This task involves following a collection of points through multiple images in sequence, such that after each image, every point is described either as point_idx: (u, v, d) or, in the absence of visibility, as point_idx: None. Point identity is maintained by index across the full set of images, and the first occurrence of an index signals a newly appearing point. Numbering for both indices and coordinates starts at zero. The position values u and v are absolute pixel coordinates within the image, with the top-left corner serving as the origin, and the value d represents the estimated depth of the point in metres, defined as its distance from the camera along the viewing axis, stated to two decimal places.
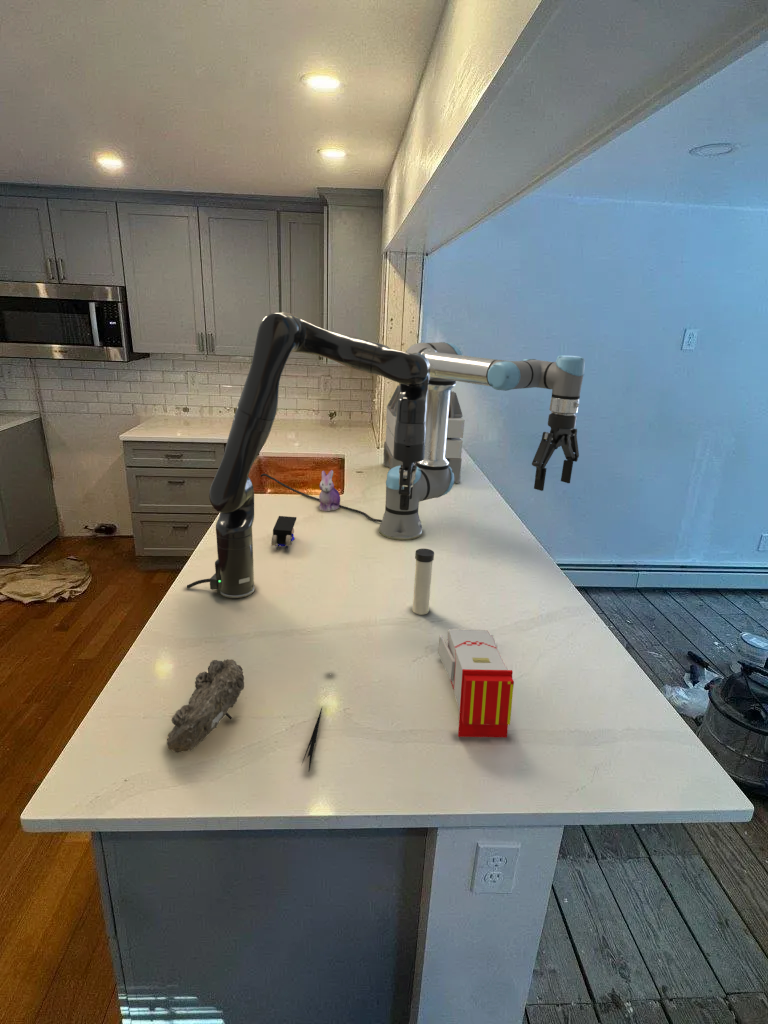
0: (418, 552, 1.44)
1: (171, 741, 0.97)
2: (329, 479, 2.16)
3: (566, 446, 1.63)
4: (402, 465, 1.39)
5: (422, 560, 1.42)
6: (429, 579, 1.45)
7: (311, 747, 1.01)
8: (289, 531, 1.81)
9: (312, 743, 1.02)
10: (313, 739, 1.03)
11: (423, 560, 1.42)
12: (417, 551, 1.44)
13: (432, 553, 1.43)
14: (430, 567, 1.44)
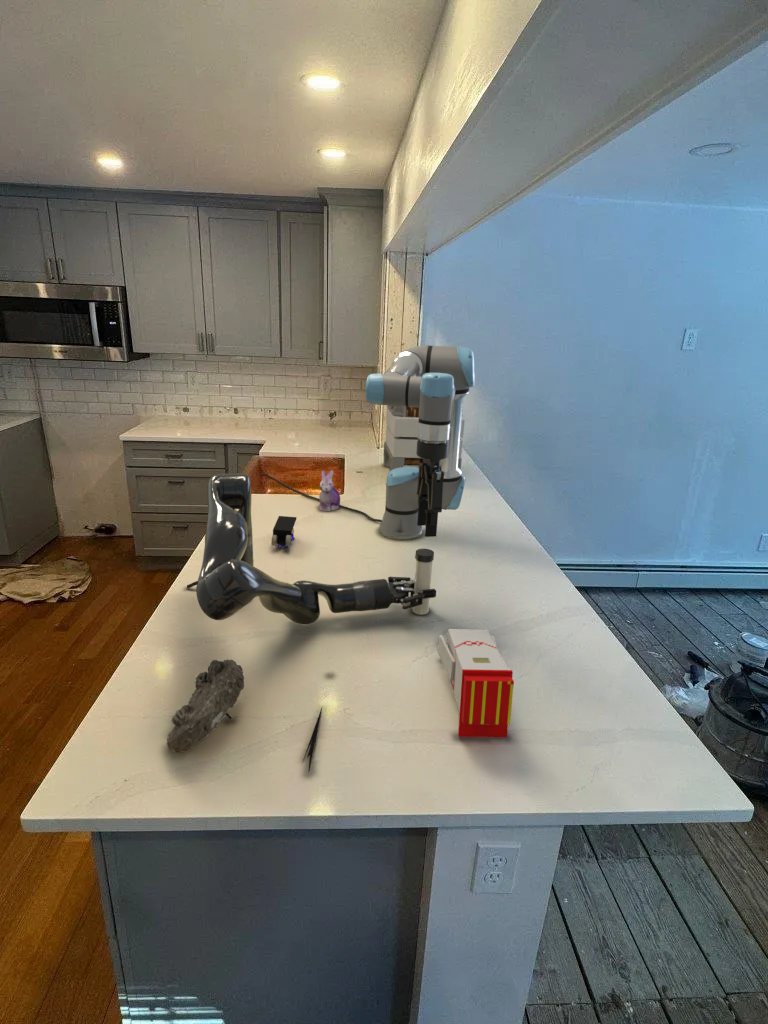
0: (418, 552, 1.44)
1: (171, 741, 0.97)
2: (329, 479, 2.16)
3: (430, 479, 1.40)
4: None
5: (422, 560, 1.42)
6: (429, 579, 1.45)
7: (311, 747, 1.01)
8: (289, 531, 1.81)
9: (312, 743, 1.02)
10: (313, 739, 1.03)
11: (423, 560, 1.42)
12: (417, 551, 1.44)
13: (432, 553, 1.43)
14: (430, 567, 1.44)
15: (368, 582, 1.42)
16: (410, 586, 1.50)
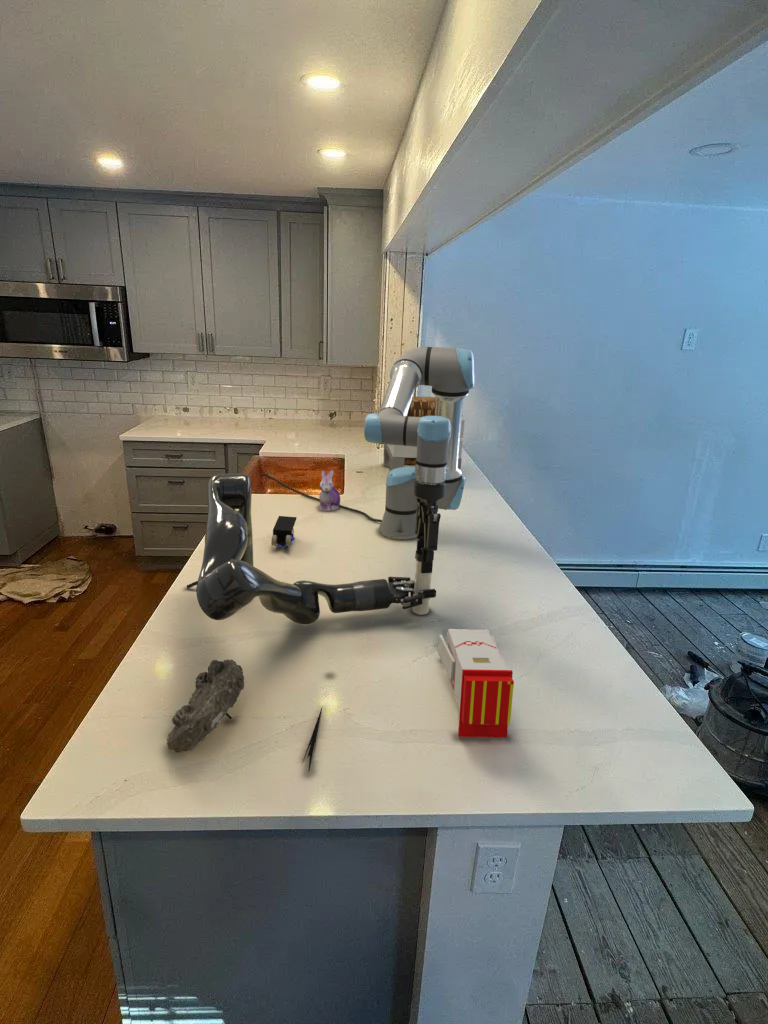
0: (418, 552, 1.44)
1: (171, 741, 0.97)
2: (329, 479, 2.16)
3: (427, 518, 1.43)
4: None
5: None
6: (429, 579, 1.45)
7: (311, 747, 1.01)
8: (289, 531, 1.81)
9: (312, 743, 1.02)
10: (313, 739, 1.03)
11: None
12: (417, 551, 1.44)
13: None
14: None
15: (368, 582, 1.42)
16: (410, 586, 1.50)
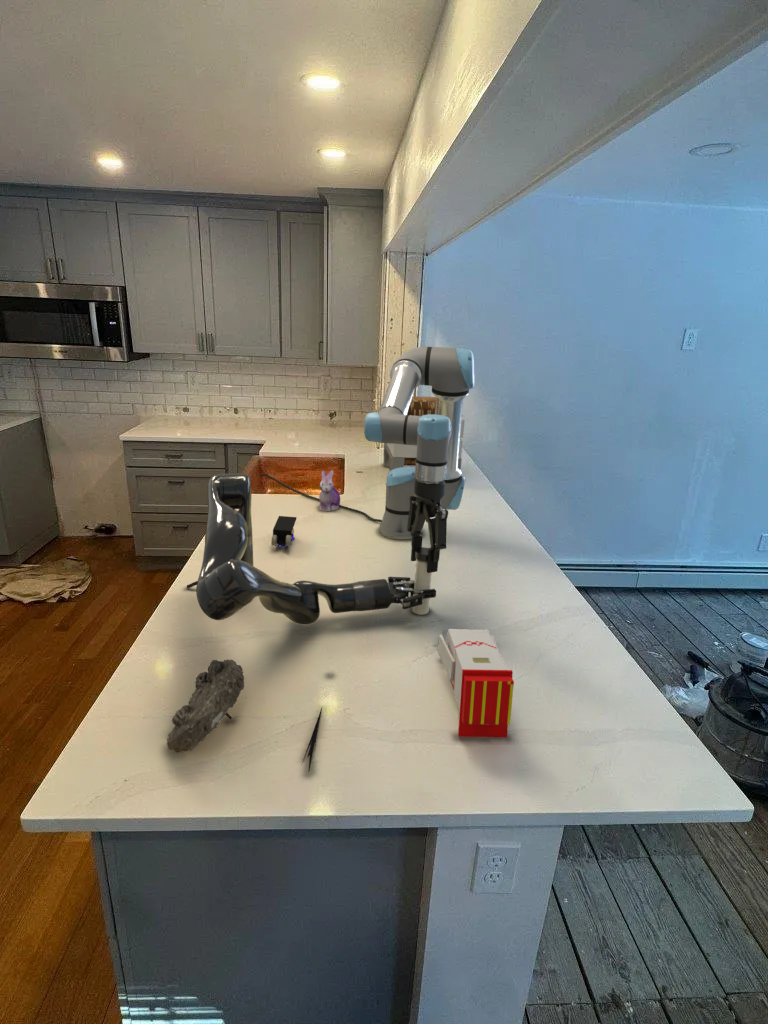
0: (427, 553, 1.42)
1: (171, 741, 0.97)
2: (329, 479, 2.16)
3: (424, 516, 1.43)
4: None
5: None
6: (429, 579, 1.45)
7: (311, 747, 1.01)
8: (289, 531, 1.81)
9: (312, 743, 1.02)
10: (313, 739, 1.03)
11: None
12: (425, 554, 1.42)
13: (425, 548, 1.46)
14: None
15: (368, 582, 1.42)
16: (410, 586, 1.50)
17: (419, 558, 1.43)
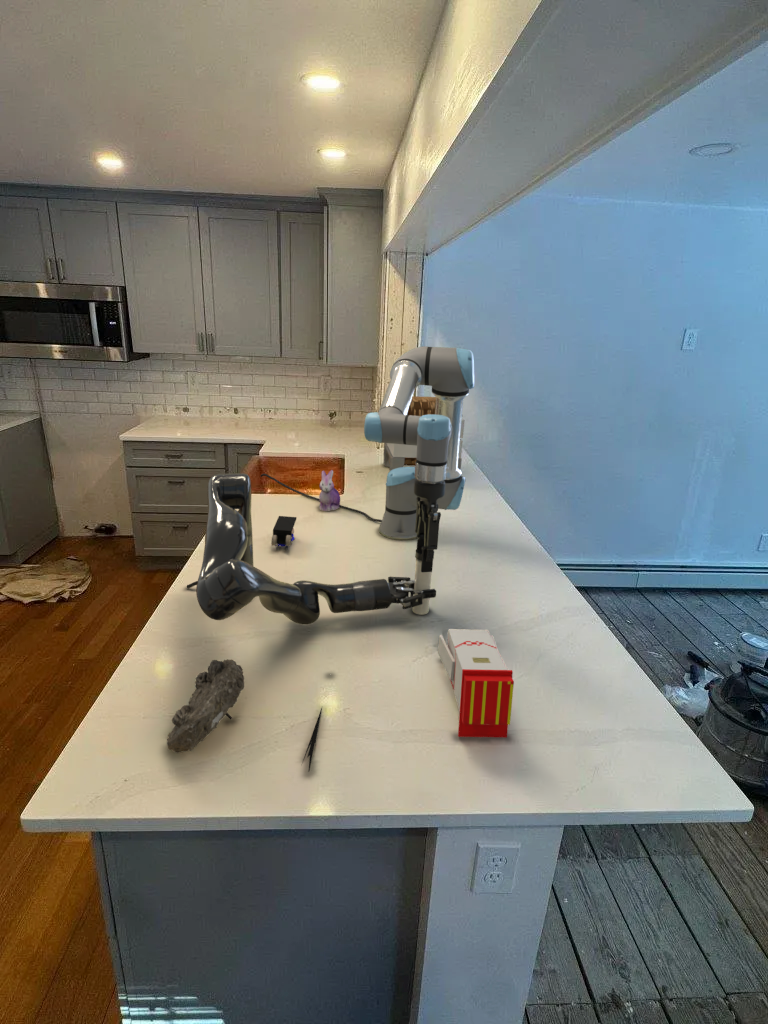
0: None
1: (171, 741, 0.97)
2: (329, 479, 2.16)
3: None
4: None
5: (433, 556, 1.44)
6: (429, 579, 1.45)
7: (311, 747, 1.01)
8: (289, 531, 1.81)
9: (312, 743, 1.02)
10: (313, 739, 1.03)
11: (433, 556, 1.44)
12: None
13: None
14: None
15: (368, 582, 1.42)
16: (410, 586, 1.50)
17: (419, 558, 1.43)
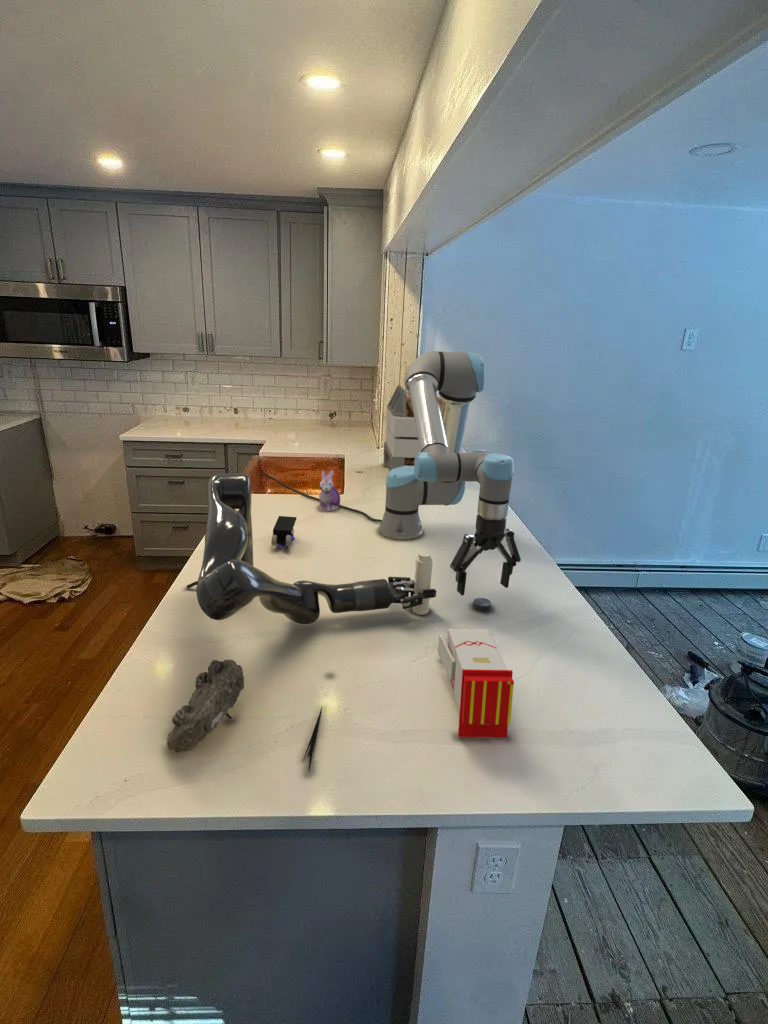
0: (487, 600, 1.53)
1: (171, 741, 0.97)
2: (329, 479, 2.16)
3: None
4: None
5: None
6: (429, 579, 1.45)
7: (311, 747, 1.01)
8: (289, 531, 1.81)
9: (312, 743, 1.02)
10: (313, 739, 1.03)
11: None
12: (488, 601, 1.52)
13: (475, 601, 1.52)
14: (430, 567, 1.44)
15: (368, 582, 1.42)
16: (410, 586, 1.50)
17: (490, 608, 1.51)
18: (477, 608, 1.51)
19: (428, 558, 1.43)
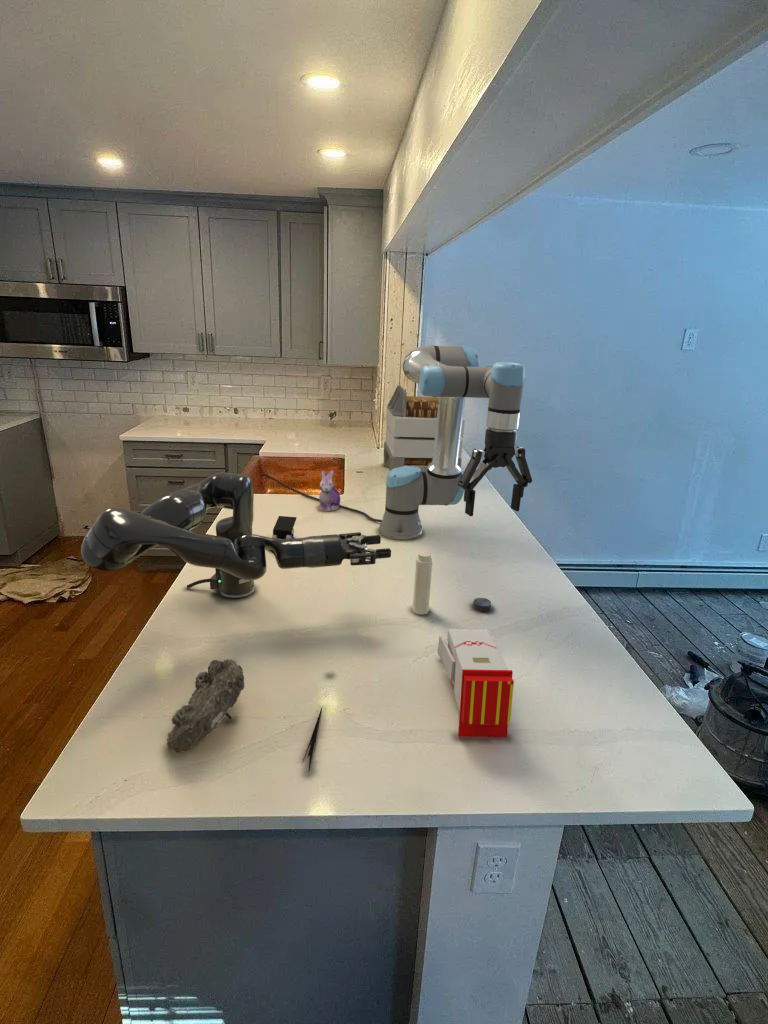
0: (487, 600, 1.53)
1: (171, 741, 0.97)
2: (329, 479, 2.16)
3: None
4: None
5: None
6: (429, 579, 1.45)
7: (311, 747, 1.01)
8: (289, 531, 1.81)
9: (312, 743, 1.02)
10: (313, 739, 1.03)
11: None
12: (488, 601, 1.52)
13: (475, 601, 1.52)
14: (430, 567, 1.44)
15: (319, 537, 1.34)
16: (360, 541, 1.43)
17: (490, 608, 1.51)
18: (477, 608, 1.51)
19: (428, 558, 1.43)
